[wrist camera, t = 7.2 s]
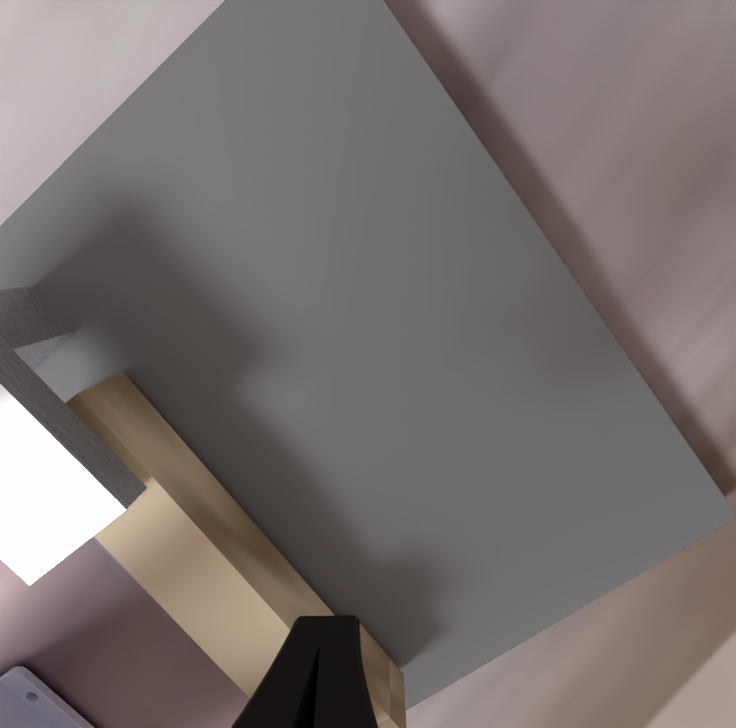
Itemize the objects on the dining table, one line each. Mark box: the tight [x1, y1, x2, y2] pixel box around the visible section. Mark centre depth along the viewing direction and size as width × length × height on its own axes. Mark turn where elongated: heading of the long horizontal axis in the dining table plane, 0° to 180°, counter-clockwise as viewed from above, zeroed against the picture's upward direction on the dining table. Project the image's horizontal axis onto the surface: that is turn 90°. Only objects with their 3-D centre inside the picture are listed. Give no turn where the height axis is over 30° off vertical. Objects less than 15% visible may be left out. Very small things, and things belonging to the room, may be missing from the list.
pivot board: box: [0, 0, 736, 711], centre depth 15 cm, size 24×20×6 cm
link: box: [65, 371, 406, 728], centre depth 17 cm, size 16×4×2 cm, turn 36°
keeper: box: [0, 286, 147, 585], centre depth 15 cm, size 8×4×6 cm, turn 38°
